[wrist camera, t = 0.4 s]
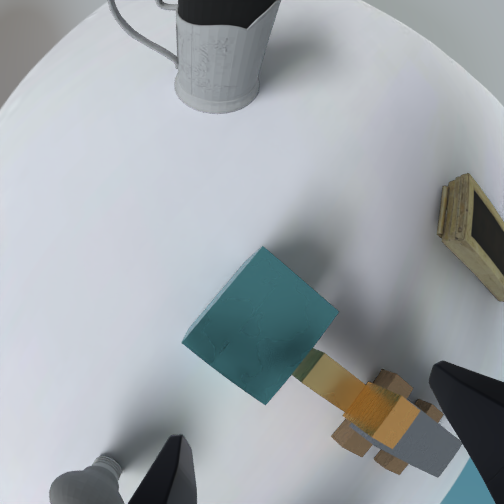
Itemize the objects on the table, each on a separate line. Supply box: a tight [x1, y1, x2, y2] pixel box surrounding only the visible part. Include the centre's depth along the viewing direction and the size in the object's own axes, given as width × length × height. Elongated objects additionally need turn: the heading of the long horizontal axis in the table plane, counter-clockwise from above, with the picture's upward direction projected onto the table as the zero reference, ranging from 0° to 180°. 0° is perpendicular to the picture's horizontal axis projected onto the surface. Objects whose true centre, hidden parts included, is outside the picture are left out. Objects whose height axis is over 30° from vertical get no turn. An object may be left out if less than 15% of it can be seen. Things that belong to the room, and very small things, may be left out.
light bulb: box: [49, 456, 124, 504], centre depth 13 cm, size 6×6×10 cm
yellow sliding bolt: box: [292, 348, 420, 449], centre depth 17 cm, size 19×3×6 cm, turn 50°
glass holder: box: [107, 0, 281, 114], centre depth 18 cm, size 9×14×15 cm, turn 85°
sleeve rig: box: [182, 246, 462, 477], centre depth 19 cm, size 28×8×7 cm, turn 50°
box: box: [437, 173, 504, 302], centre depth 26 cm, size 8×22×5 cm, turn 68°
